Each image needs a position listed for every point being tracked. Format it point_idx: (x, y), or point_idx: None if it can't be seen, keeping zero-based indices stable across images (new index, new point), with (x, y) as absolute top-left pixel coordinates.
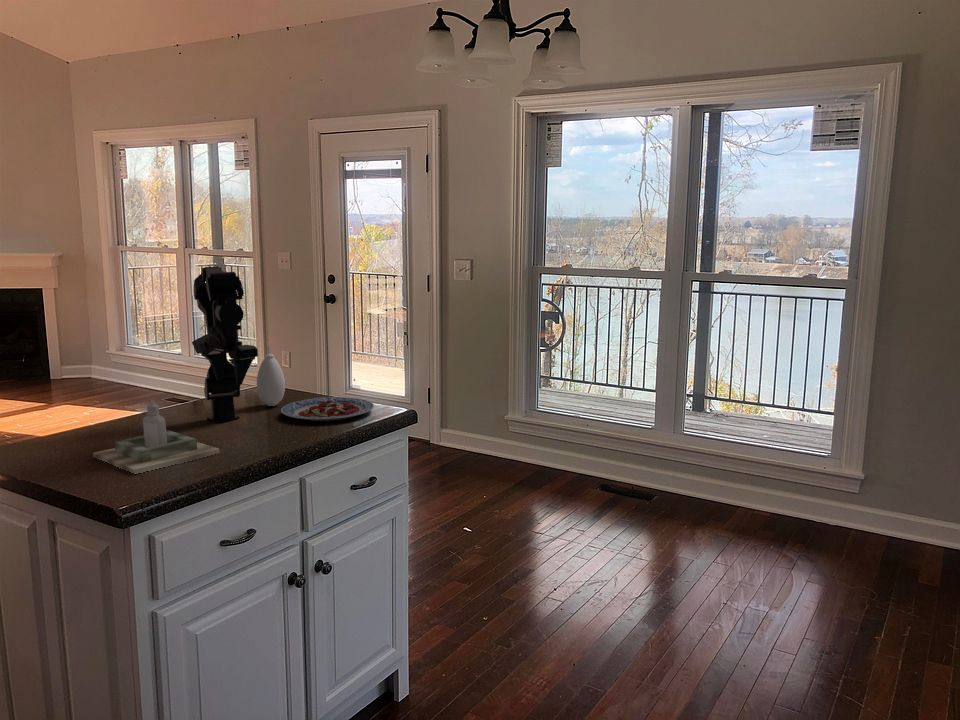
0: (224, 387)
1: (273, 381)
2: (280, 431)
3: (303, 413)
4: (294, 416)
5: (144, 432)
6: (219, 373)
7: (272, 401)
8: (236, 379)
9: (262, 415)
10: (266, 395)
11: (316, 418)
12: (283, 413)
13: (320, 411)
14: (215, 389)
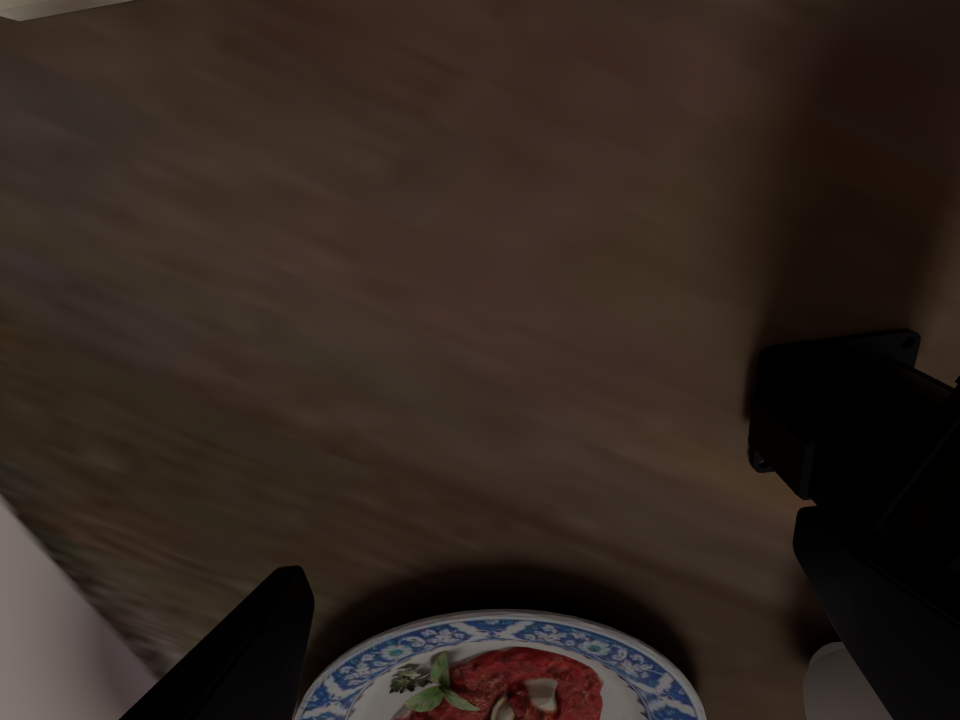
0: (901, 542)
1: None
2: (342, 494)
3: (533, 670)
4: (437, 620)
5: None
6: (876, 624)
7: (813, 672)
8: (246, 625)
9: (708, 560)
10: (852, 690)
11: (336, 662)
12: (542, 614)
13: (489, 717)
14: (949, 466)
